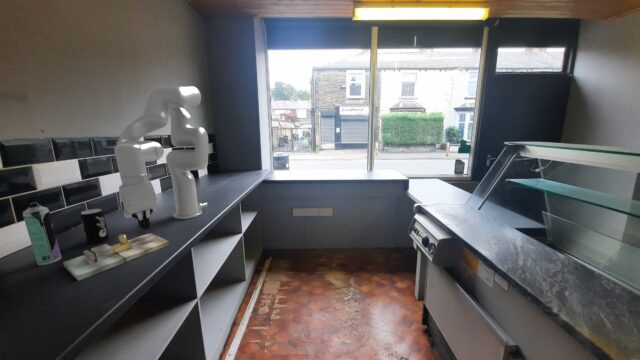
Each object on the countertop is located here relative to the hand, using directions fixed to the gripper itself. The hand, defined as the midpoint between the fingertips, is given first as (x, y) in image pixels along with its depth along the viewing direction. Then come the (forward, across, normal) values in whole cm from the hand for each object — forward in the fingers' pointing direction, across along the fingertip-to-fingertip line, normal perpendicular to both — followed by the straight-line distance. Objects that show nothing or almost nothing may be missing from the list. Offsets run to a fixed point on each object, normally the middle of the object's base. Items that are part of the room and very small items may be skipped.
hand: (145, 228), depth 91 cm
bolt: (+4, +11, +1) cm, 12 cm away
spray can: (+6, +23, -15) cm, 28 cm away
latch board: (+6, +9, +1) cm, 11 cm away
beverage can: (+7, +9, -20) cm, 23 cm away
